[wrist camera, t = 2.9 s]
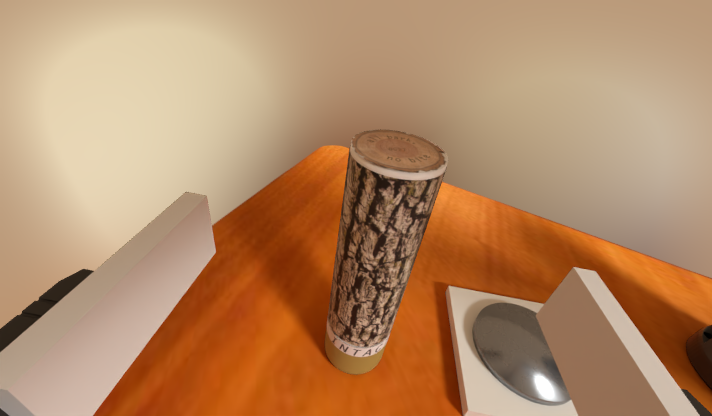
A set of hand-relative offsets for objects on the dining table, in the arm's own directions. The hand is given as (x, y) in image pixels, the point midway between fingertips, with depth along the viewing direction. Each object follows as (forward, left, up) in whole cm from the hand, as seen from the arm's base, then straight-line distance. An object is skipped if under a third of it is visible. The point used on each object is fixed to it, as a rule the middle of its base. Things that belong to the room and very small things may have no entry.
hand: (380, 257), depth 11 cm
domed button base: (-21, -14, -25) cm, 36 cm away
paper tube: (-1, -12, -26) cm, 28 cm away
